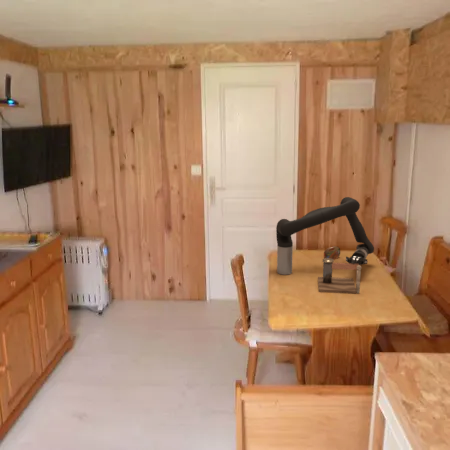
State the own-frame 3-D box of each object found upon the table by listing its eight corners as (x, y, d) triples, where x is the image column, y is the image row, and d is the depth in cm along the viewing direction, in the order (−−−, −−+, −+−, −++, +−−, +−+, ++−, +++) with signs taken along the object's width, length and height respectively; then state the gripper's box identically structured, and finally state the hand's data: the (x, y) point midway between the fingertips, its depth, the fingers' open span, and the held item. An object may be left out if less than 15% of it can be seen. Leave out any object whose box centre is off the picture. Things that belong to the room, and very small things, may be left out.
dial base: (317, 279, 273) (318, 253, 269) (356, 280, 269) (357, 255, 266) (318, 291, 254) (319, 264, 250) (360, 293, 250) (361, 266, 246)
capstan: (321, 283, 262) (322, 261, 259) (321, 279, 268) (322, 257, 264) (358, 285, 258) (359, 263, 255) (357, 281, 264) (358, 259, 260)
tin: (326, 262, 303) (326, 250, 301) (322, 261, 305) (323, 249, 303) (340, 257, 312) (341, 245, 310) (336, 256, 314) (337, 244, 312)
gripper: (348, 248, 280) (341, 256, 265) (371, 251, 274) (365, 259, 259) (348, 260, 281) (341, 269, 266) (370, 263, 275) (364, 272, 260)
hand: (353, 264), depth 263 cm, fingers closed
